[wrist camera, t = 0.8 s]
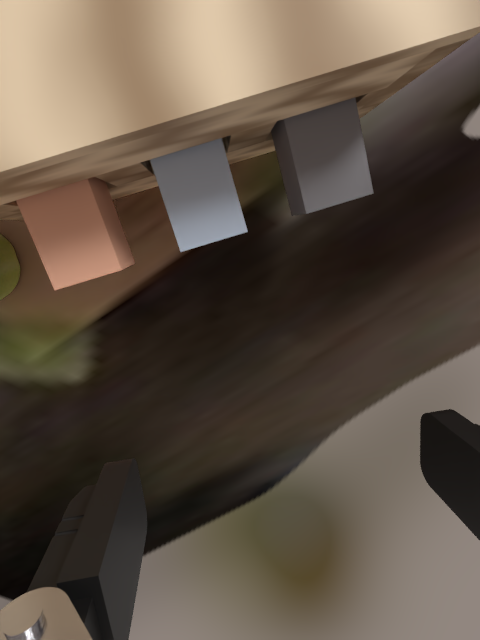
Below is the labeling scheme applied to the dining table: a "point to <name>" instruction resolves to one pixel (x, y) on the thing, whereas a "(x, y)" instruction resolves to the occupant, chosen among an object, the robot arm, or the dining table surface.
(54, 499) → the dining table surface
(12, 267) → the plant pot
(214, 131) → the console
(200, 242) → the key slate
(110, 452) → the dining table surface
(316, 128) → the key charcoal
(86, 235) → the key terracotta
